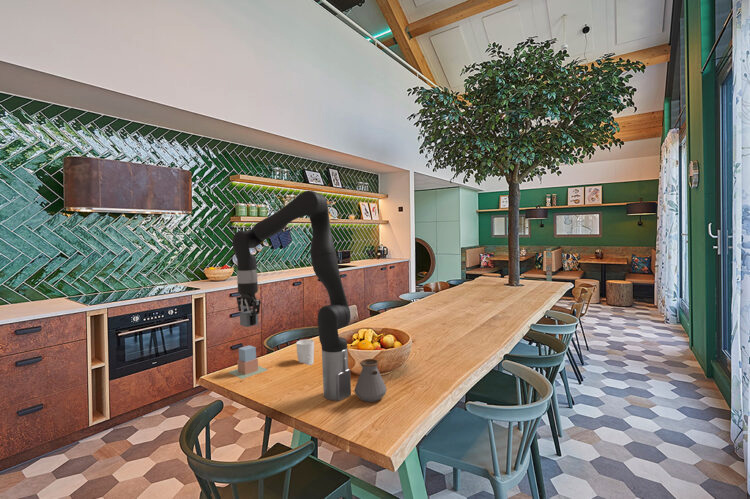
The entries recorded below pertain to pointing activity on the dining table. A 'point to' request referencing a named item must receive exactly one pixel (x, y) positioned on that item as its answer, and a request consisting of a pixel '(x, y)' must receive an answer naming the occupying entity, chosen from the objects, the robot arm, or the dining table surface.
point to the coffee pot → (370, 382)
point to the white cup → (305, 351)
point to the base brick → (247, 366)
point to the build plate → (242, 376)
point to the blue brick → (247, 353)
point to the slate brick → (246, 319)
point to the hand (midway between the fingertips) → (249, 323)
